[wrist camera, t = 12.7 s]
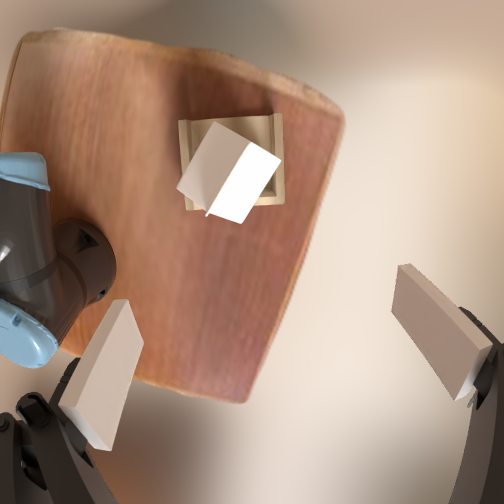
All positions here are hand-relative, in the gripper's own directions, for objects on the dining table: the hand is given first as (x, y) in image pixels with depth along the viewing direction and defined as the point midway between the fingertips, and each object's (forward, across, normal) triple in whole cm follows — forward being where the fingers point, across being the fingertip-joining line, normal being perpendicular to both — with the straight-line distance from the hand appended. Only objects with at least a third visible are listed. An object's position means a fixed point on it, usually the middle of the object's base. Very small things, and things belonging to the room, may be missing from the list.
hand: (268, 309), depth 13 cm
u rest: (+31, -1, +5) cm, 31 cm away
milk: (+30, -1, +5) cm, 31 cm away
